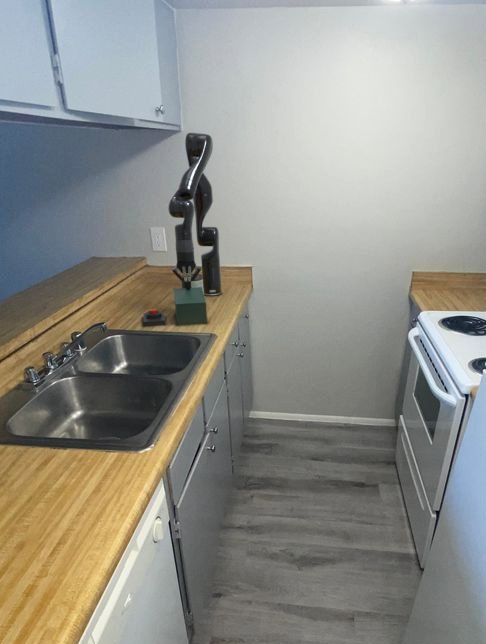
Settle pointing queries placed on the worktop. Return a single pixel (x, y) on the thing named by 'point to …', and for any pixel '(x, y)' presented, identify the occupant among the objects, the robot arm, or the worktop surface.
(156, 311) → the button
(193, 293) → the lid
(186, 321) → the chest
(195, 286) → the coffee can
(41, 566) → the worktop surface
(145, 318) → the button block
